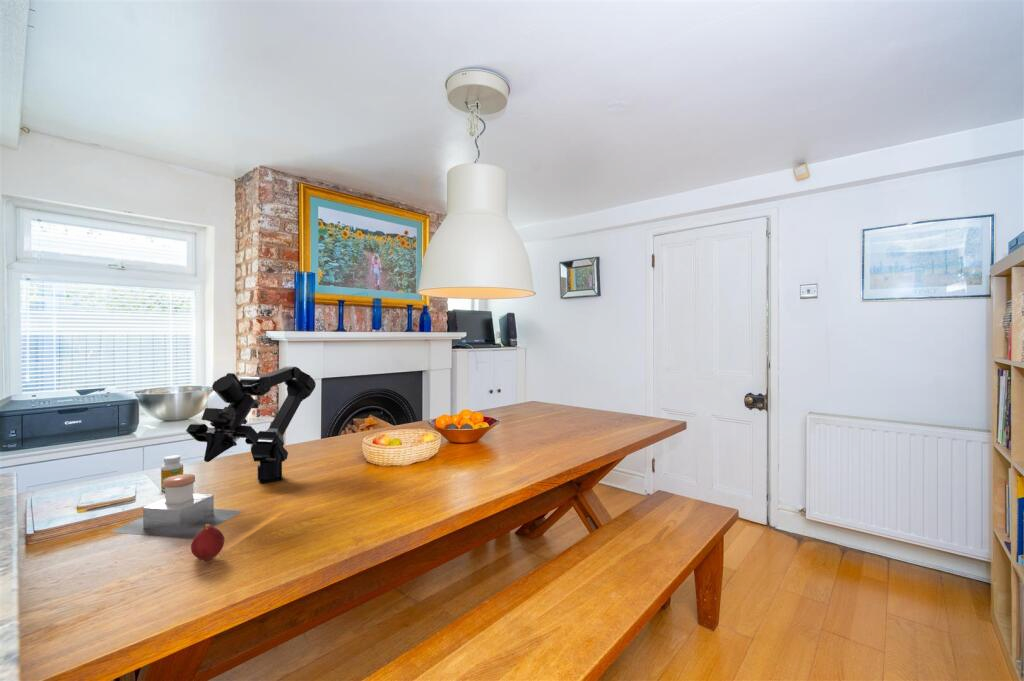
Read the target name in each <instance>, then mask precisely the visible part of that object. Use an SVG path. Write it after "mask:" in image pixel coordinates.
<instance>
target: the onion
mask: <svg viewBox="0 0 1024 681" xmlns="http://www.w3.org/2000/svg"><path fill="white" fill-rule="evenodd" d="M203 528H204V529H202V530H201V531H200V532H199V533H198V534H197V535H196V536H195V537H194V538H193V539H192V542H191V544H190V551H191V553H192V555H193V556H194V557H196V558H197V559H198V560H201V561H203V562H205V563H207V562H210V561H212V560H213V559H214V558H215V557H216V556H218V555H219V554H220V552H222V550H223V547H224V545H225V537H224V534H223V532H222V531H221V530H220V529H219V528H217V527H216V526H215V527H212V526H211V525H209V524H206V525H205V526H203Z"/></svg>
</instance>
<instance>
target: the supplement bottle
mask: <svg viewBox="0 0 1024 681" xmlns="http://www.w3.org/2000/svg"><path fill="white" fill-rule="evenodd" d="M163 463H164V464H162V465H161V466H160V467H161V468H160V480H161V482H160V485H161V486H160V487H161V488H160V490H161V491H162V490H163V492H165V487H164V486H163V480H164V479H166V478H168V477H172V476H176V475H182V474H184V464H183V462H181V455H180V454H179V455H178V454H176V455H175V454H174V455H167V456H164V457H163Z"/></svg>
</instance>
